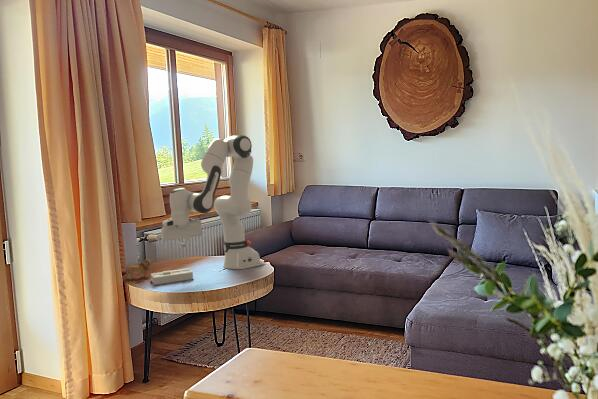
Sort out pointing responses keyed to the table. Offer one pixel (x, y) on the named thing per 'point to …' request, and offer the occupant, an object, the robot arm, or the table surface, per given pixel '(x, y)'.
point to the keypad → (172, 277)
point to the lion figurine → (139, 268)
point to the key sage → (166, 272)
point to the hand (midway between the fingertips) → (183, 247)
